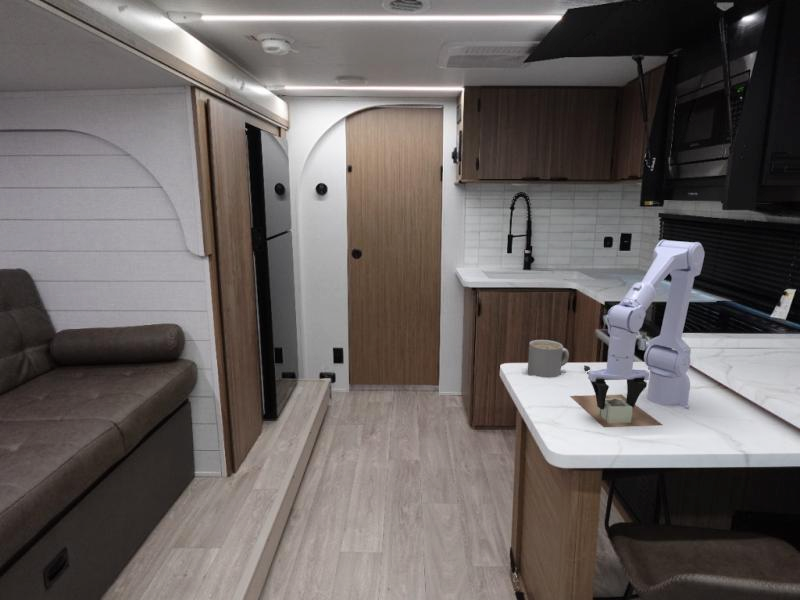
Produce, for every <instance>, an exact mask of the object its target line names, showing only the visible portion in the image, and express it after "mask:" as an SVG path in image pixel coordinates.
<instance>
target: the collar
mask: <svg viewBox="0 0 800 600" xmlns="http://www.w3.org/2000/svg"><path fill="white" fill-rule="evenodd" d="M613 399H618V400H619V401H620V403H621V405H620V406H611V401H612V400H613ZM632 408H633V407H631V406H629V404H627V403H626V402H625V401H623V400H622V399H621V398H612V399H605V407H604V409H600V408H599V407H598V414H599V415H601V417H602V418H603V419H604V420H606V421H607V422H608V423H631V417H632Z"/></svg>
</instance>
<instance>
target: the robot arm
mask: <svg viewBox="0 0 800 600" xmlns="http://www.w3.org/2000/svg"><path fill="white" fill-rule="evenodd" d="M704 258H705V250H704V246H703V245H702V243H700V242H699V241H695V242H693V241H691V242H689V241H679V240H678V241H677V240H667V239H661V240H659V242H658V243H657V244H656V246H655V248H654V249H653V262H652V263H651V265H650V266H649V268H648V270H647V271H646V273H645V275H644V277H643V278H642V280H641V281H640V282H638V281H637V282H635V283H633V285H632V286H631V287H630V289H629V290H628V292H627V293H626V294H625V296H624V297H623V298H622V299H621V301H620V302H619V303H618V304H616V305H615V304H614V305H613V306H612V307H610V309H608V311H607V316H606V317H605V322H606V326H607V332H608V335H609V340H608V342H609V343H608V350H607V361H606V362H607V363H606V368H604V369H597V370H590V371H589V374H587V379H588V380H589V381H590V383H591V386H592V389H593V390H594V393H595V394H594V395H596V400H597V406H598V407H599V408H600V409H604V407H605V398H606V395H608V391H609V388H610V386H609V384H607V383H606V381H620V380H621V381H623V380H626V386H627V387H626V388H627V390H626V391H627V392H626V398H627V400H626V403H627V404H629V406H631V407H633V408H634V406H635V405H636V403H637V401H638V398H639V396H640V395H641V394H642V392H644V390H645V389H646V388H647V395H646V398H647V401H648V402H649V401H650V402H651V403H654V404H656V405H659V406H660V405H661V406H667V407H668V406H670V407H671V406H676V405H679V406H681V407H683V408H684V409H690V406H689V398H690V397H689V396H690V390H691V379H690V377H689V376H688V374H687V372H688V371H689V369H690V368H691V353H692V352H691V351H692V348H691V347H690V346H689V344H687V343H686V341H684V339H683V338H682V336H683V331H684V327H685V323H686V319H687V314H688V309H689V304H690V300H691V294H692V290H693V286H694V281H695V277H697V276H699V275H701V272H702V268H703V264H704ZM668 275H670V277H671V280H670V286H669V291H668V295H667V300H666V306H665V309H664V314H663V319H662V325H661V329H660V333H659V335H658V336H656V337H653V338H651V339H650V340H649V342H648V346H647V348H646V350H645V352H644V355H643V360H644V364H645V366H647V370H648V371H647V370H646V369H634V368H633V367H634V359H635V358H634V357H635V348H636V341H637V332H638V331H640V329H642V327H643V324H644V320H645V317H646V315H647V313H646V311H647V309H649V307H650V305H651V304H652V303H653V302H654V301H655V299H656V298H657V292H656V289H657V288H658V287H659V286H660V284H661V283H662V282H663V281H664V279H666V277H667V276H668ZM647 381H648V382H647ZM647 385H648V387H647Z"/></svg>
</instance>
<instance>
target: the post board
mask: <svg viewBox="0 0 800 600" xmlns="http://www.w3.org/2000/svg"><path fill="white" fill-rule="evenodd" d="M569 397H570V398H571V399H572V400H573V401H574V402H576V403H577V405H579V406H580V407H581V408H582V409H583V410H584V411H585V412H587V414H588V415H590V417H592V418H593V419H594V420H595V421H597V423H598V424H600V426H602V427H603V428H620V427H622V428H623V427H626V428H627V427H645V426H647V427H648V426H651V427H652V426H653V427H654V426H663V424H662V423H661V422H660V421H659V420H657V419H656V418H655V417H653V416H652V415H650V414H649V413H648V412H646V411H645V410H643V409H642V408H641V407H639V406H638V405H637V404H635V406H634V408H632V417H631V423H608V422H607V421H606V420H604V419H603V418H602V417H601V415H599V414H598V406H597V400H596V395H595V394H593V395H570V396H569ZM612 398H621V399H622V400H623V401H625V402H626V400H627V396H626V397H625V396H624V395H623V394H606V398H605V399H612ZM620 405H621V403H620V401H619V400H618V399H613V400H612V401H611V406H620Z"/></svg>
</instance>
